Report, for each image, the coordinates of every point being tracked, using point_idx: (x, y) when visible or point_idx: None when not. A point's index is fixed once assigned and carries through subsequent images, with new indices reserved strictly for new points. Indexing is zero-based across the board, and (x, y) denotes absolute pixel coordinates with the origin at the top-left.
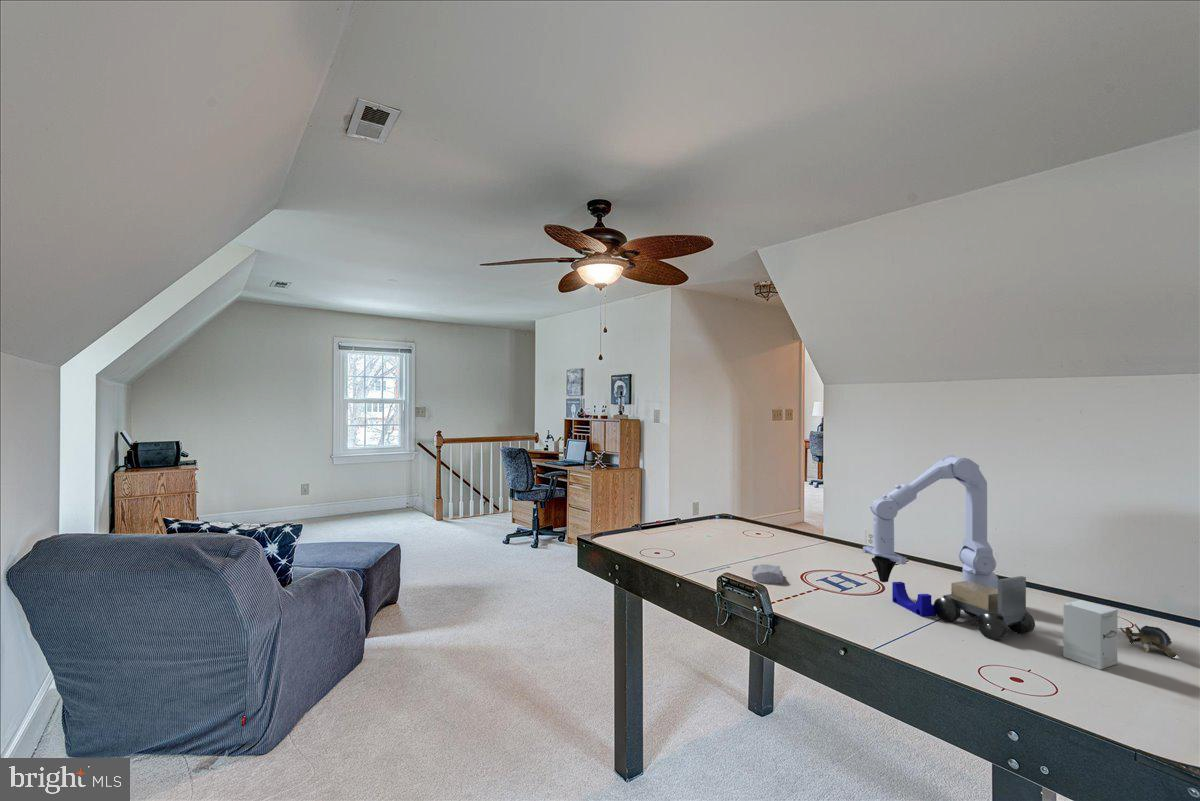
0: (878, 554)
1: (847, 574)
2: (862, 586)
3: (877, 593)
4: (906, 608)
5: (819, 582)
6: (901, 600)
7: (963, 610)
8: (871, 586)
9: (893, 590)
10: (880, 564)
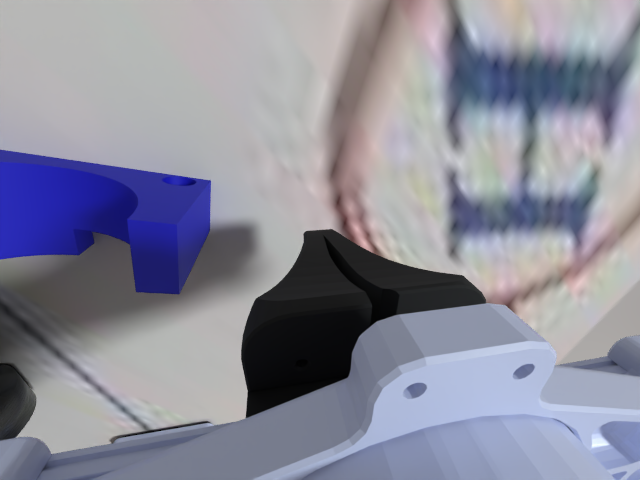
0: (362, 394)
1: (552, 259)
2: (433, 207)
3: (334, 201)
4: (75, 161)
5: (614, 2)
6: (108, 176)
7: (14, 371)
8: (413, 246)
9: (180, 199)
10: (325, 285)
